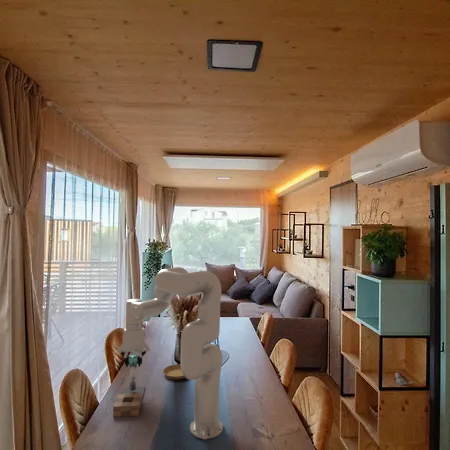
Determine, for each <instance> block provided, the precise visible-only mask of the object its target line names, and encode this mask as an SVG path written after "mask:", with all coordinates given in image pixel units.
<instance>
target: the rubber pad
mask: <svg viewBox="0 0 450 450" xmlns="http://www.w3.org/2000/svg"><path fill="white" fill-rule="evenodd" d="M145 389H146V386H136V390H134V391H131V390H130V386H129V387H128V386H127V387H123V388H122V390H121V393H120V394H133V393H142V398H143V399H144V392H145V391H146V390H145Z"/></svg>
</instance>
